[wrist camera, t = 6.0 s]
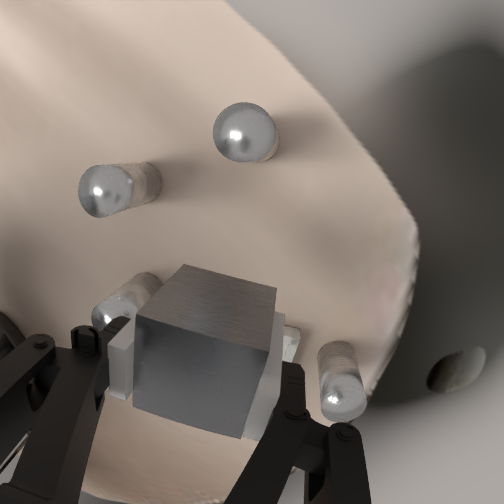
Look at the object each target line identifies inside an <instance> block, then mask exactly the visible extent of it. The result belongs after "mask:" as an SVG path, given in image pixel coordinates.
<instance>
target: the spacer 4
mask: <svg viewBox="0 0 504 504" xmlns="http://www.w3.org/2000/svg"><path fill="white" fill-rule="evenodd" d="M317 360H318V372H319V384H320V398H321V411H322V414H323V415H324V416H325V417H326V418H327V419H329V420H331V421H334V422H346V421H350V420H353V419H355V418H357V417H358V416H360V415H361V414H362V413H363V412H364V410H365V408H366V406H367V400H366V396H365V392H364V388H363V384H362V380H361V376H360V372H359V368H358V364H357V361H356V357H355V353H354V350H353V348H352V346H351V345H349V344H348V343H346V342H343V341H333V342H330V343H327V344H326V345H324V346H323V347H322V348H321V349H320V351H319V353H318V356H317Z"/></svg>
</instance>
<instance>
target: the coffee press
mask: <svg viewBox="0 0 504 504" xmlns="http://www.w3.org/2000/svg"><path fill="white" fill-rule="evenodd" d="M30 432H31V430H29V431H28V432H27V433H30ZM27 439H28V434H26V435H25V436H24V437H23V438H22V440H21V441H20V442H19V443H18V445H17V446H16V447H15V448H14V449H13V451H12V452H11V453H10V454H9V456H8V457H7V458H6V459H5V461H4V462H3V463H2V464H1V466H0V474H1V473H2V471H3V470H4V469H5V468H6V466H7V465H8V464H9V463H10V462H11V460H12V459H13V458H14V457H15V456H16V454H17V453H18V452H19V451H20V450H21V448H22V447H23V446H24V445H25V444H26V441H27Z"/></svg>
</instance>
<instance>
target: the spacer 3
mask: <svg viewBox="0 0 504 504" xmlns="http://www.w3.org/2000/svg"><path fill="white" fill-rule="evenodd" d="M213 138H214V142H215V145H216V147H217V148H218V150H219V151H220V152H221V153H222V154H223V155H224V156H225V157H227V158H228V159H230V160H233V161H236V162H264V161H266V160H268V159H270V158H271V157H272V156H273V155H274V154H275V153H276V151H277V150H278V147H279V142H280V139H279V134H278V131H277V129H276V127H275V125H274V123H273V121H272V119H271V117H270V116H269V114H268V113H267V112H266V111H265V110H264V109H263V108H261V107H260V106H258V105H255V104H252V103H246V102H245V103H236V104H233V105H231V106H229V107H227V108H226V109H224V110H223V111H222V112H221V113H220V115H219V116H218V117H217V119H216V121H215V124H214V128H213Z"/></svg>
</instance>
